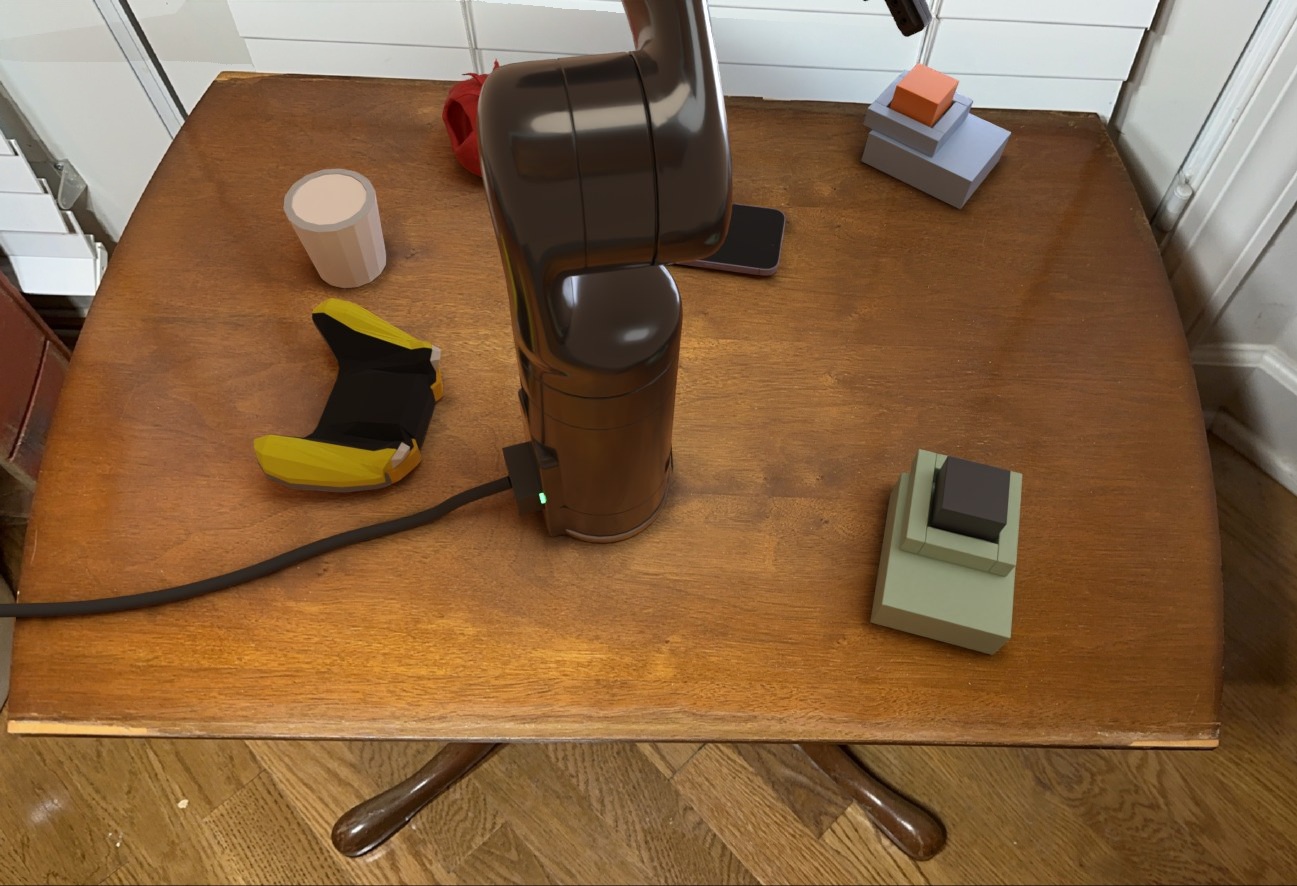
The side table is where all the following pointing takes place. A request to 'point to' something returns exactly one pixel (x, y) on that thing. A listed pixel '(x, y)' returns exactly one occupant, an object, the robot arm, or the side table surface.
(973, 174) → the blue-grey socket block
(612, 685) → the side table surface
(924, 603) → the green stepped block
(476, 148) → the pomegranate
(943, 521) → the charcoal key
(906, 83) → the orange key
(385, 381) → the gaming controller
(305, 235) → the pale pink cylinder
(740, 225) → the smartphone
